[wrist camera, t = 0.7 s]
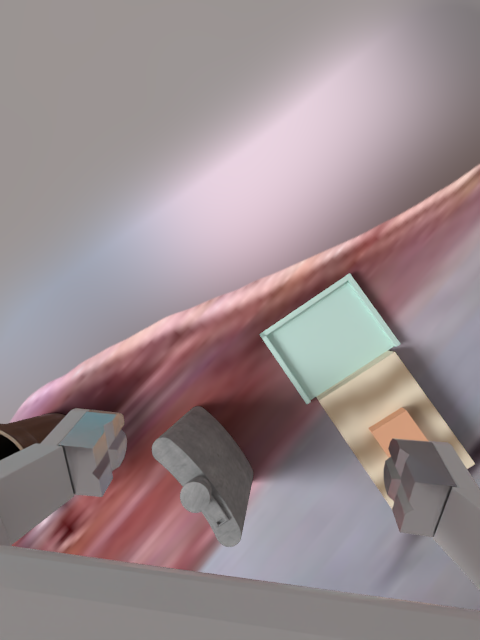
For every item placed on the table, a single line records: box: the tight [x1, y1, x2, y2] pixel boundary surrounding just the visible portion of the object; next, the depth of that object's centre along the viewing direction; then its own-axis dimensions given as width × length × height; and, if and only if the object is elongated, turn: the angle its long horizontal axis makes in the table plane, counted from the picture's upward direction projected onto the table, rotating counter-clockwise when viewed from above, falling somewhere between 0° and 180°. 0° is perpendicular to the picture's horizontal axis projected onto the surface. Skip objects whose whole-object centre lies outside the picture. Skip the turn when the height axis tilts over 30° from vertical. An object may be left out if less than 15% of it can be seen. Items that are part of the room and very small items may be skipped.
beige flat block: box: [316, 351, 475, 508], centre depth 54 cm, size 20×14×4 cm
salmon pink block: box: [369, 407, 429, 457], centre depth 51 cm, size 9×6×2 cm, turn 34°
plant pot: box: [0, 413, 66, 460], centre depth 55 cm, size 16×16×16 cm
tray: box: [259, 273, 400, 404], centre depth 57 cm, size 14×18×2 cm
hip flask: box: [152, 406, 253, 547], centre depth 49 cm, size 16×4×20 cm, turn 40°
